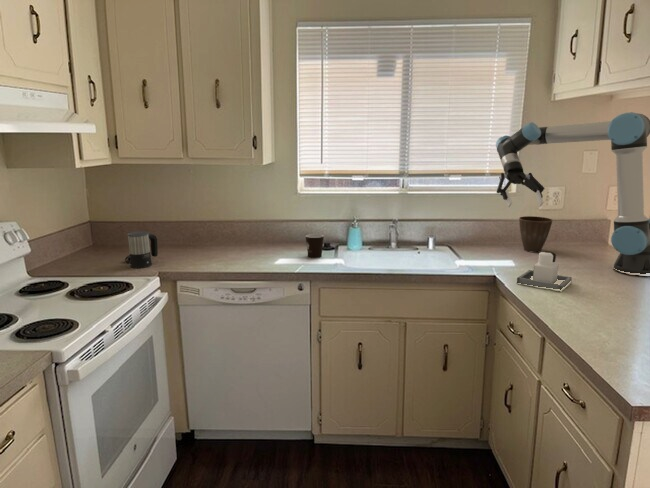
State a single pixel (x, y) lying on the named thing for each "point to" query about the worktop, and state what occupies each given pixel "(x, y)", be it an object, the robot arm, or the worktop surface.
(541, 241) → the plant pot
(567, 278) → the tray
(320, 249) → the coffee mug
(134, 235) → the milk frother
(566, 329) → the worktop surface
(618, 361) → the worktop surface
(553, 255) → the medicine bottle
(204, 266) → the worktop surface
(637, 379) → the worktop surface
